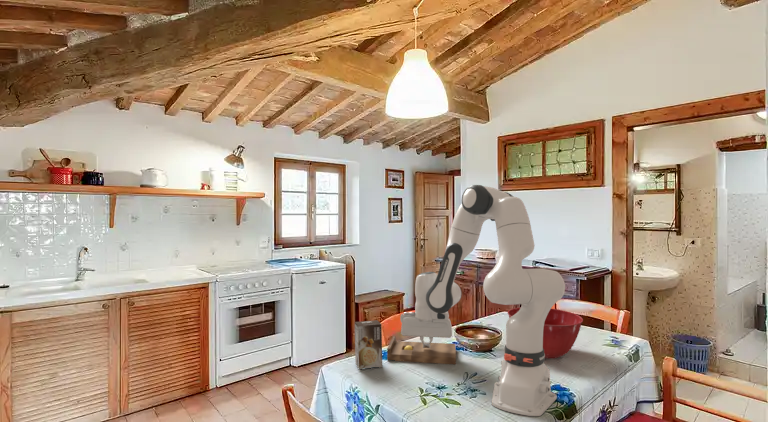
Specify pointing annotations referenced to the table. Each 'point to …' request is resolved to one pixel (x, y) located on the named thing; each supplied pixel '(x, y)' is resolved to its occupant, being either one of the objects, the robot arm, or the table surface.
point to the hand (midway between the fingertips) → (426, 347)
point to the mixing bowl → (558, 331)
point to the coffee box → (368, 344)
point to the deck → (421, 352)
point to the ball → (408, 348)
